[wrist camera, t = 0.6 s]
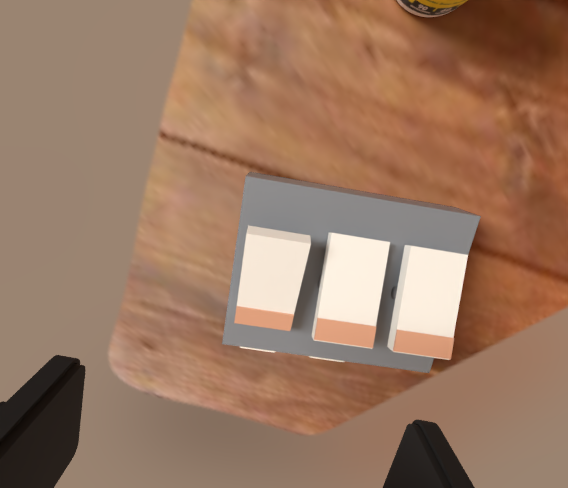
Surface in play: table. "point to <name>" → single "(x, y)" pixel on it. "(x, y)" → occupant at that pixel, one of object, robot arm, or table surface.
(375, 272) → the rocker
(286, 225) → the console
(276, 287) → the block
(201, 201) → the table surface
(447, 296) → the block
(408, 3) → the supplement bottle
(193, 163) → the table surface
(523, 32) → the table surface
